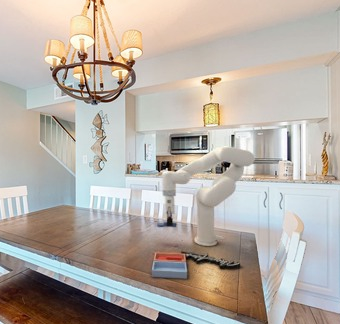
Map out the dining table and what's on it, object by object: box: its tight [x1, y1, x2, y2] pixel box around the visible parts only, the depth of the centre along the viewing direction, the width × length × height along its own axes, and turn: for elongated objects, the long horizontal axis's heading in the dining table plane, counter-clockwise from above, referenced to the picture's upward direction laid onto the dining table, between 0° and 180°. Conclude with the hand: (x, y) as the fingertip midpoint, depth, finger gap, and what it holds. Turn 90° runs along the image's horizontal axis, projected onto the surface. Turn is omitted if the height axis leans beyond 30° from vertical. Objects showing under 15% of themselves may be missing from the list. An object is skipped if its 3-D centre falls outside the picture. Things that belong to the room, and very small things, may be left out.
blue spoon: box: [156, 221, 177, 228], centre depth 119 cm, size 11×4×2 cm, turn 84°
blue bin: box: [151, 260, 188, 280], centre depth 88 cm, size 14×8×3 cm, turn 85°
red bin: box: [153, 252, 187, 263], centre depth 97 cm, size 14×8×3 cm, turn 85°
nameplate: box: [180, 250, 241, 270], centre depth 98 cm, size 28×2×10 cm
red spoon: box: [158, 256, 182, 261], centre depth 97 cm, size 11×4×2 cm, turn 85°
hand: (169, 225), depth 119 cm, fingers closed on blue spoon, 1 cm apart
